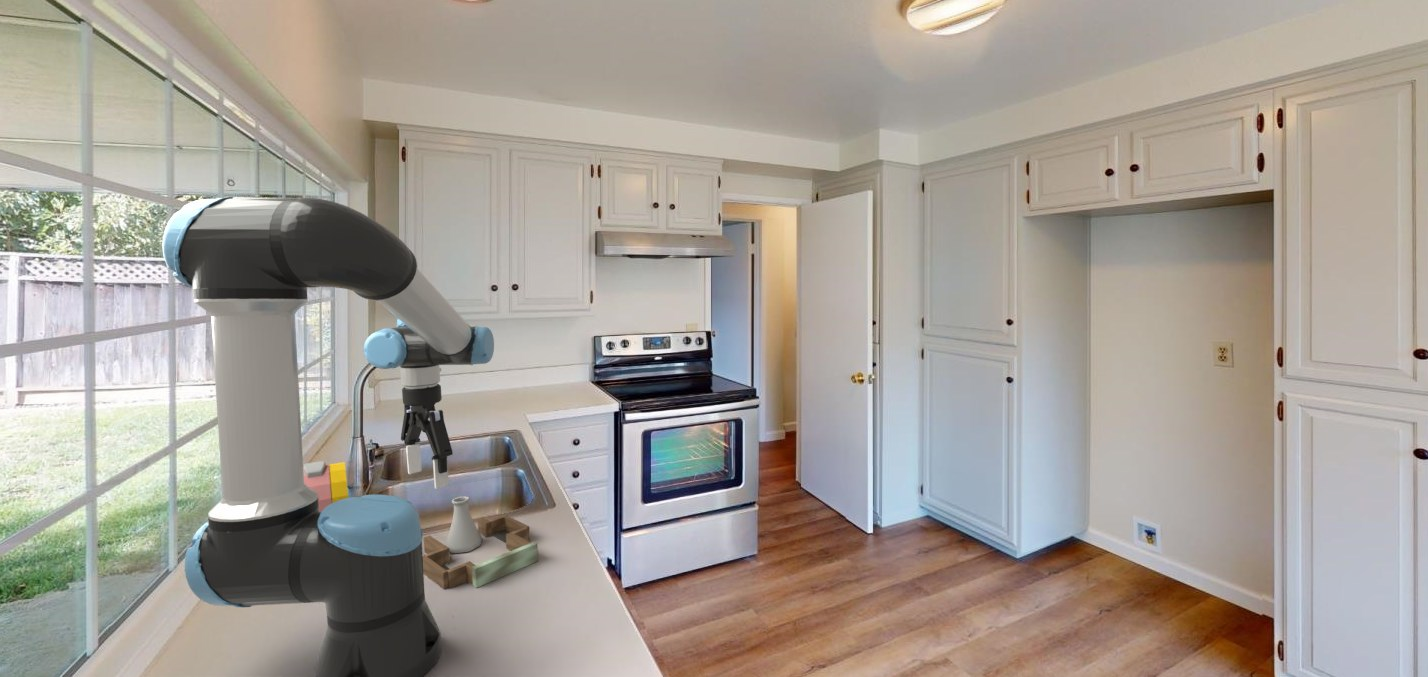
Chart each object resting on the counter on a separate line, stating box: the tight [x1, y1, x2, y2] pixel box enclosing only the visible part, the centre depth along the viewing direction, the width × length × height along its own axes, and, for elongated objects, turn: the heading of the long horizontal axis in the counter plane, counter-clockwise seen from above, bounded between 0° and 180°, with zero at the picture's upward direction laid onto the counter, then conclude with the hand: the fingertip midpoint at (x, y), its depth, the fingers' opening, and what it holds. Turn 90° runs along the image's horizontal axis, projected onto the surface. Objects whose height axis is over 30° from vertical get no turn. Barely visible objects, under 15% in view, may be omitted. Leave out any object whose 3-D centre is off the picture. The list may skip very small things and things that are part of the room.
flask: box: [444, 496, 483, 554], centre depth 113 cm, size 7×7×10 cm
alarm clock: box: [303, 460, 349, 512], centre depth 111 cm, size 15×8×18 cm, turn 36°
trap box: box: [423, 514, 539, 590], centre depth 109 cm, size 20×21×4 cm
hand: (427, 479), depth 123 cm, fingers open, 13 cm apart
